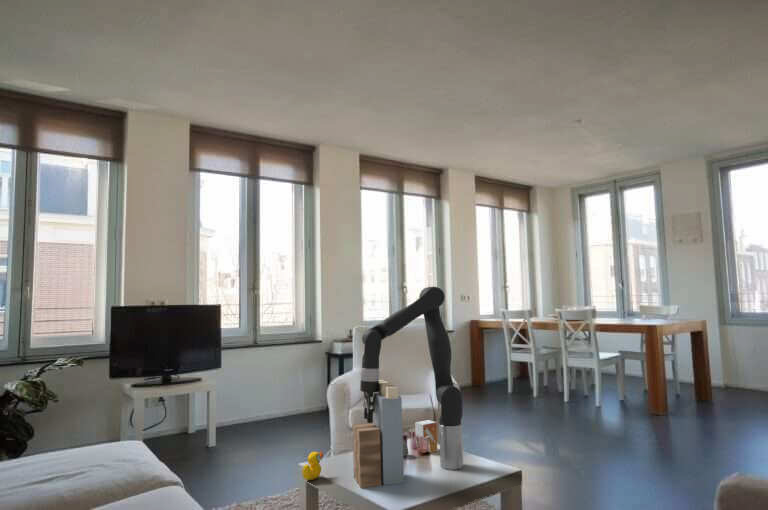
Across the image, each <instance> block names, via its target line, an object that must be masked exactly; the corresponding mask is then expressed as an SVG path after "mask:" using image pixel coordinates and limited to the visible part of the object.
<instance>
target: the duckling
mask: <svg viewBox="0 0 768 510" xmlns="http://www.w3.org/2000/svg"><path fill="white" fill-rule="evenodd" d="M323 456H324V455H323V452H322V451H320V453H319V452H318V451H312V452H310V453H309V455H308V456H307V463H308V464H304V465H303V467H302V476H303V479H305V480H307V481H313V480H316V479H318V478H319V476H320V475H321V473H322V465H321V464H320V463H321V460H322V459H323Z"/></svg>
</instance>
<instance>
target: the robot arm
mask: <svg viewBox="0 0 768 510" xmlns="http://www.w3.org/2000/svg"><path fill="white" fill-rule="evenodd" d="M445 297H446V296H445V292H444V290H443V289H441V288H440V287H438V286H428V287H425V288H423V289H422V290H421V291H420V293H419V297H418V298H417V299H416V300H415V301H414V302H412V303H410V304H408V305H407V306H405V307H403V308H401V309H400V310H398V311H395V312H394V313H392V314H391V315H389V316H388V317H386V318H385V319H384V320H382V321H381V322H380V323H378V324H376V325H374V326H372V327H370V328H369V329H368V330H366V331H365V332H364V333H363V334H362V337H361V341H362V344H364V345H363V346H364V347H363V348H364V352H363V355H362V358H361V359H362V361H361V370H360V371H361V372H360V387H359V388H360V392H361V393H362V392H363V405H362V406H363V409H364V410H363V419H365V420H366V423H374V421H373V420H374V411H375V396H374V393H378V391H379V380H380V354H381V348H382V341H383V340H384V339H386V338H387V337H388V338H389V337H391V336H393V335H394V334H396V333H398V331H400V330H401V329H403V328H404V327H406V326H408V325H409V324H410V323H411V322H414V320H416V319H417V318H419V317H421V316H422V315H423V317H424V324H425V331H426V338H427V343H428V350H429V354H430V360H431V364H432V371H433V375H434V384H435V385H434V386H435V387H434V388H435V397H436V400H437V401H438V403H439V404H440V409H441V410H440V416H439V417H438V427H439V429H438V430H439V432H438V433H439V454H440V457H439V459H440V467H441V468H442V469H444V470H450V471H451V470H462V469H463V468H464V448H463V447H464V445H463V444H464V442H463V437H462V435H463V433H462V418H463V395H462V391H461V390H460V389H459V388H458V387H456V386H455V385H454V382H453V378H452V373H451V363H452V345H451V341H450V337H449V334H448V331H447V329H446V327H445V325H444V322H443V320H442V317H441V316H442V315H441V311H440V310H441V309H440V307H441V306H442V305H443V303H444V302H445Z"/></svg>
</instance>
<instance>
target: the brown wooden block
mask: <svg viewBox="0 0 768 510" xmlns="http://www.w3.org/2000/svg"><path fill="white" fill-rule="evenodd" d="M352 444H353V445H352V448H353V449H352V452H353V479H354V478H355V479H354V480H355V482H356V481H357V482H356V484H357V485H358V484H359V485H358V487H359V488H360V489H363V488H364V487H365V488H371V487H372V486H373V487H379V486H380V485H381V486H382V482H381V455H380V429H379V428H378V427H376V426H375V423H374V422H372V423H368V422H364V423H356V424H355V423H354V424H352ZM373 487H372V488H373Z"/></svg>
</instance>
